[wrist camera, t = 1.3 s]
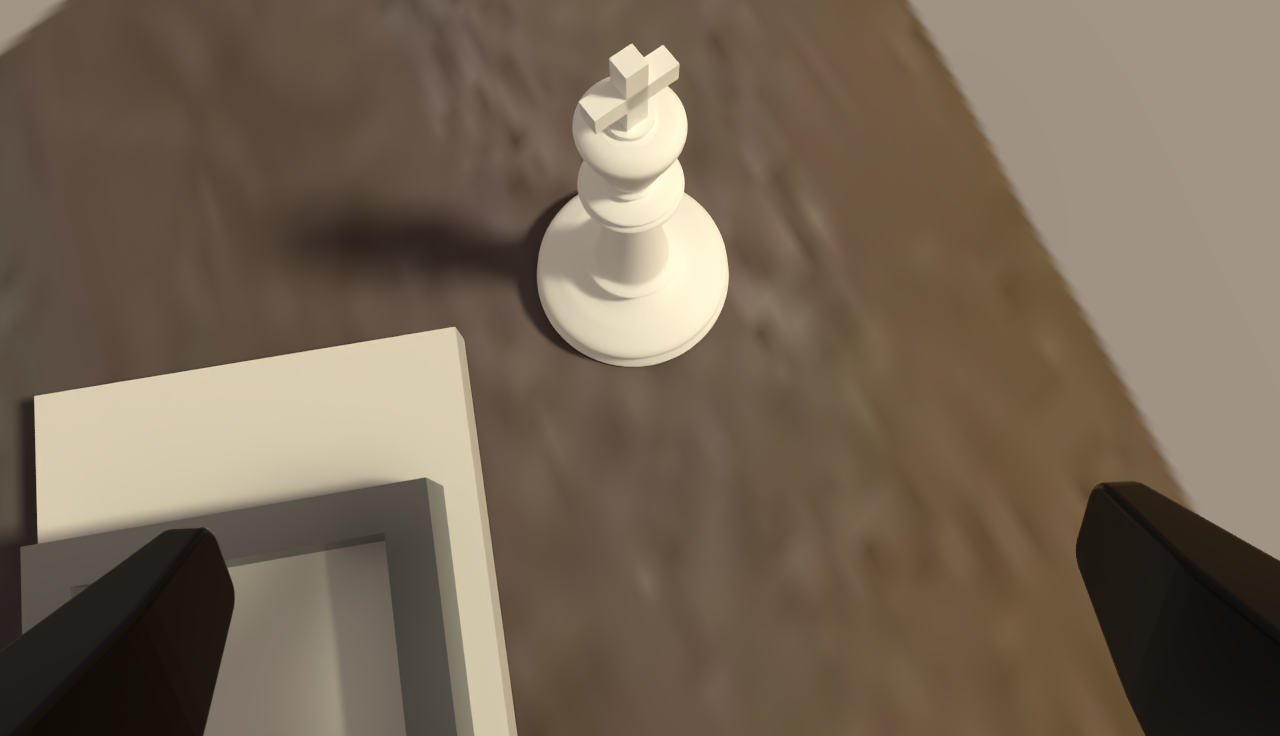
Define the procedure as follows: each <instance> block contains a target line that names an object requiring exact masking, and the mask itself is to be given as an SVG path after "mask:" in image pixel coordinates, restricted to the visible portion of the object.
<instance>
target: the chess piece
mask: <svg viewBox="0 0 1280 736" xmlns="http://www.w3.org/2000/svg"><path fill="white" fill-rule="evenodd" d="M609 66H610V77H607V78H605V79H603V80H601V81H599V82H598V83H596V84H595V85H593V86H592V87H591V88H590V89H589V90H588V91H587V92H586V93H585V94H584V95H583V97H582V98H581V99H580V101H579V103H578V105H577V107H576V110H575V113H574V117H573V125H572V127H573V137H574V141H575V144H576V147H577V149H578V151H579V153H580V155H581V156H582V158H583V159H584V161H583V163H582V165H581V167H580V171H579V174H578V182H577V186H578V195H577V196H575V197H574V198H573V199H571V200H570V201H569V202H568V203H567V204H566V205H565V206H564V207H563V208H562V209H561V210H560V211H559V212H558V213H557V214H556V216H555V217H554V219H553V220H552V222H551V223H550V225H549V227H548V228H547V230H546V233H545V235H544V237H543V240H542V243H541V247H540V251H539V257H538V265H537V286H538V292H539V297H540V301H541V304H542V307H543V309H544V311H545V314H546V316H547V317H548V319H549V321H550V323H551V324H552V326H553V327H554V328H555V330H556V331H557V332H558V333H559V335H560V336H561V337H562V338H563V339H564V340H565V341H566V342H567V343H569V344H570V345H571V346H572V347H574V348H575V349H576V350H578V351H579V352H581V353H583V354H585V355H586V356H588V357H590V358H593V359H595V360H598V361H600V362H603V363H607V364H611V365H616V366H625V367H641V366H649V365H654V364H658V363H662V362H665V361H668V360H670V359H673V358H675V357H677V356H679V355H681V354H683V353H684V352H686V351H687V350H689V349H690V348H692V347H693V346H694V345H695V344H697V343H698V342H699V341H700V340H701V339H702V338H703V337H704V336H705V335H706V334H707V333H708V331H709V330H710V329H711V328H712V326H713V325H714V323H715V322H716V320H717V318H718V316H719V314H720V312H721V310H722V307H723V305H724V302H725V298H726V295H727V289H728V279H729V273H728V262H727V255H726V250H725V246H724V242H723V239H722V237H721V234H720V232H719V230H718V228H717V226H716V224H715V223H714V221H713V220H712V218H711V217H710V215H709V214H708V213H707V212H706V211H705V209H704V208H703V207H702V206H701V205H700V204H699V203H698V202H696V201H695V200H694V199H693V198H692V197H690V196H689V195H687V194H686V193H684V175H683V170H682V168H681V165H680V163H679V161H678V159H677V158H678V156H679V154H680V153H681V151H682V149H683V146H684V144H685V141H686V136H687V117H686V113H685V110H684V107H683V105H682V103H681V101H680V100H679V98H678V97H677V95H676V94H675V93H674V92H673V91H672V90H671V89H670V88H669V87H668V85H670V84H671V83H672V82H674V81H675V80H677V79H678V77H679V63H678V62H677V61H676V59H675V58H674V57H673V56H672V55H671V53H670V52H669V51H668V50H667V49H666V48H665V46H664V45H662V46H661V47H659V48H658V49H656V50H655V51H653V52H652V53H650V54H649V55H647V56H646V57H643V56H642V55H641V54H640V53H639V51H638V50H637V49H636V48H635V47H634V45H633V44H630V45H629V46H627V47H626V48H624V49H623V50H621V51H620V52H618V53H617V54H615V55H614V56H612V57H611V58H609Z"/></svg>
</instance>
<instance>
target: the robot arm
mask: <svg viewBox="0 0 1280 736" xmlns="http://www.w3.org/2000/svg"><path fill="white" fill-rule="evenodd" d="M1076 558H1077V563H1078V566H1079V570H1080V572H1081V575H1082V578H1083V580H1084V583H1085V586H1086V589H1087V591H1088V594H1089V597H1090V599H1091V602H1092V605H1093V608H1094V610H1095V613H1096V616H1097V618H1098V621H1099V624H1100V627H1101V629H1102V632H1103V635H1104V637H1105V640H1106V643H1107V646H1108V648H1109V651H1110V654H1111V656H1112V659H1113V662H1114V665H1115V667H1116V670H1117V673H1118V676H1119V678H1120V681H1121V683H1122V685H1123V688H1124V690H1125V693H1126V695H1127V698H1128V700H1129V702H1130V704H1131V707H1132V709H1133V711H1134V713H1135V715H1136V717H1137V719H1138V721H1139V723H1140V725H1141V727H1142V729H1143V731H1144V733H1145V735H1146V736H1280V561H1279V560H1277V559H1275V558H1273V557H1272V556H1270V555H1268V554H1267V553H1265V552H1263V551H1261V550H1260V549H1258V548H1256V547H1254V546H1252V545H1251V544H1249V543H1247V542H1245V541H1244V540H1242V539H1240V538H1238V537H1236V536H1235V535H1233V534H1231V533H1229V532H1228V531H1226V530H1224V529H1222V528H1221V527H1219V526H1217V525H1215V524H1214V523H1212V522H1210V521H1208V520H1206V519H1205V518H1203V517H1201V516H1199V515H1198V514H1196V513H1194V512H1192V511H1191V510H1189V509H1187V508H1185V507H1183V506H1182V505H1180V504H1178V503H1176V502H1175V501H1173V500H1171V499H1169V498H1167V497H1166V496H1164V495H1162V494H1160V493H1159V492H1157V491H1155V490H1153V489H1152V488H1150V487H1148V486H1146V485H1144V484H1142V483H1140V482H1135V481H1125V482H1104V483H1101V484H1098V485H1096V486H1095V487H1094V489H1093V490H1092V492H1091V494H1090V497H1089V500H1088V504H1087V507H1086V511H1085V514H1084V517H1083V521H1082V524H1081V528H1080V531H1079V535H1078V538H1077V543H1076ZM234 603H235V592H234V586H233V582H232V579H231V577H230V574H229V571H228V569H227V566H226V563H225V560H224V558H223V555H222V552H221V549H220V547H219V544H218V541H217V539H216V537H215V535H214V533H213V532H212V531H211V530H210V529H208V528H205V527H193V528H174V529H169V530H166V531H164V532H162V533H161V534H159V535H158V536H156V537H155V538H154V539H152V540H151V541H150V542H148V543H147V544H146V545H144V546H143V547H141V548H140V549H139V550H137V551H136V552H135V553H133V554H132V555H130V556H129V557H128V558H126V559H125V560H124V561H122V562H121V563H120V564H118V565H117V566H115V567H114V568H113V569H111V570H110V571H109V572H107V573H106V574H105V575H103V576H102V577H100V578H99V579H98V580H96V581H95V582H94V583H92V584H91V585H89V586H88V587H87V588H85V589H84V590H83V591H81V592H80V593H79V594H77V595H76V596H74V597H73V598H72V599H70V600H69V601H68V602H66V603H65V604H64V605H62V606H61V607H59V608H58V609H57V610H55V611H54V612H53V613H51V614H50V615H48V616H47V617H46V618H44V619H43V620H42V621H40V622H39V623H38V624H36V625H35V626H33V627H32V628H31V629H29V630H28V631H27V632H25V633H24V634H23V635H21V636H20V637H18V638H17V639H16V640H14V641H13V642H12V643H10V644H9V645H7V646H6V647H5V648H3V649H2V650H1V651H0V736H203V735H204V731H205V728H206V724H207V720H208V715H209V711H210V707H211V703H212V699H213V694H214V690H215V686H216V682H217V678H218V673H219V669H220V665H221V661H222V657H223V652H224V648H225V644H226V640H227V636H228V631H229V627H230V623H231V619H232V615H233V610H234Z"/></svg>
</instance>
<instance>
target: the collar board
mask: <svg viewBox="0 0 1280 736" xmlns="http://www.w3.org/2000/svg"><path fill="white" fill-rule="evenodd" d="M34 408H35V448H36V489H37V529H38V544H34V545H28V546H22V547H20V555H21V604H22V635H23V634H24V633H25V632H27V631H28V630H29V629H31V628H32V627H33V626H35V625H36V624H38V623H39V622H40V621H42V620H43V619H44V618H46V617H47V616H48V615H50V614H51V613H53V612H54V611H55V610H57V609H58V608H59V607H61V606H62V605H64V604H65V603H66V602H68V601H69V600H70V599H72V598H73V597H74V596H76V595H77V594H79V593H80V592H81V591H83V590H84V589H85V588H87V587H88V586H89V585H91V584H92V583H94V582H95V581H96V580H98V579H99V578H100V577H102V576H103V575H105V574H106V573H107V572H109V571H110V570H111V569H113V568H114V567H115V566H117V565H118V564H120V563H121V562H122V561H124V560H125V559H126V558H128V557H129V556H130V555H132V554H133V553H135V552H136V551H137V550H139V549H140V548H141V547H143V546H144V545H146V544H147V543H148V542H150V541H151V540H152V539H154V538H155V537H156V536H158V535H159V534H161V533H162V532H164V531H166V530H169V529H174V528H193V527H205V528H208V529H210V530H211V531H212V532H213V533H214V535H215V537H216V539H217V541H218V544H219V547H220V549H221V552H222V555H223V558H224V560H225V563H226V566H227V569H228V571H229V574H230V577H231V579H232V582H233V586H234V592H235V603H234V610H233V615H232V619H231V623H230V627H229V631H228V636H227V640H226V644H225V648H224V652H223V657H222V661H221V665H220V669H219V673H218V678H217V682H216V686H215V690H214V694H213V699H212V703H211V707H210V711H209V715H208V720H207V724H206V728H205V731H204V735H203V736H517V729H516V721H515V714H514V707H513V699H512V692H511V684H510V677H509V669H508V662H507V654H506V647H505V640H504V632H503V625H502V617H501V610H500V602H499V595H498V588H497V580H496V573H495V565H494V558H493V550H492V543H491V536H490V528H489V521H488V513H487V506H486V498H485V491H484V483H483V476H482V469H481V461H480V454H479V446H478V439H477V431H476V424H475V417H474V409H473V402H472V394H471V387H470V379H469V372H468V365H467V357H466V350H465V342H464V339H463V337H462V336H461V335H460V333H459V332H458V330H457V329H456V327H451V328H445V329H439V330H433V331H427V332H421V333H415V334H409V335H403V336H396V337H390V338H384V339H378V340H372V341H366V342H360V343H354V344H348V345H342V346H336V347H330V348H324V349H318V350H312V351H305V352H299V353H293V354H287V355H281V356H275V357H269V358H263V359H257V360H251V361H245V362H239V363H233V364H227V365H220V366H214V367H208V368H202V369H196V370H190V371H184V372H178V373H172V374H166V375H160V376H154V377H148V378H142V379H136V380H129V381H123V382H117V383H111V384H105V385H99V386H93V387H87V388H81V389H75V390H69V391H63V392H57V393H51V394H45V395H38V396H34Z"/></svg>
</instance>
